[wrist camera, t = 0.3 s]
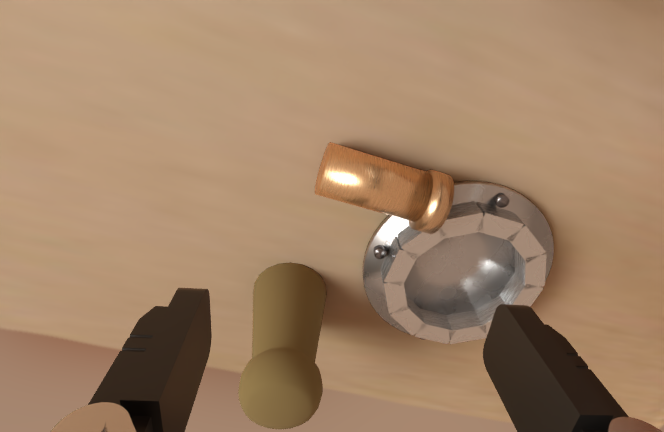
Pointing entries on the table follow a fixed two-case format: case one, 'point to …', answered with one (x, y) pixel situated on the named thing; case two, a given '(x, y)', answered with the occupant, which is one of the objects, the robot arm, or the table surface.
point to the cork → (284, 347)
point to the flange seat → (459, 264)
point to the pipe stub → (386, 187)
